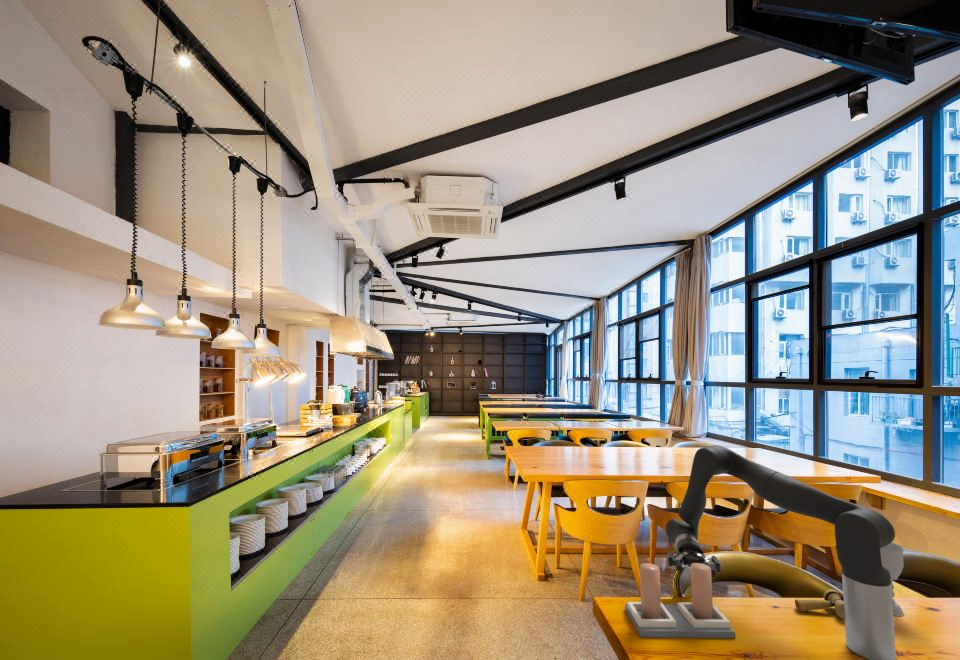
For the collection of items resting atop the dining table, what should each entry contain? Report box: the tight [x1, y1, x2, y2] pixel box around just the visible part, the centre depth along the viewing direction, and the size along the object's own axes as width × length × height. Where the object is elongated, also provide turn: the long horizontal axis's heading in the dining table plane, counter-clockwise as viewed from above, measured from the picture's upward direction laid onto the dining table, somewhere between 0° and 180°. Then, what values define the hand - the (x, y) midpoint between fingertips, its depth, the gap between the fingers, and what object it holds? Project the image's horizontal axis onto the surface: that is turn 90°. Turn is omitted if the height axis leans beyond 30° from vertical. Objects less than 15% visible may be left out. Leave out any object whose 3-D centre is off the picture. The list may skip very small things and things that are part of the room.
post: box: [690, 563, 714, 619], centre depth 122 cm, size 5×5×13 cm
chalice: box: [880, 542, 906, 617], centre depth 129 cm, size 7×7×18 cm
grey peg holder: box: [624, 562, 736, 639], centre depth 122 cm, size 24×13×14 cm, turn 90°
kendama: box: [794, 588, 845, 620], centre depth 127 cm, size 8×6×18 cm
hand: (696, 571), depth 130 cm, fingers open, 8 cm apart
